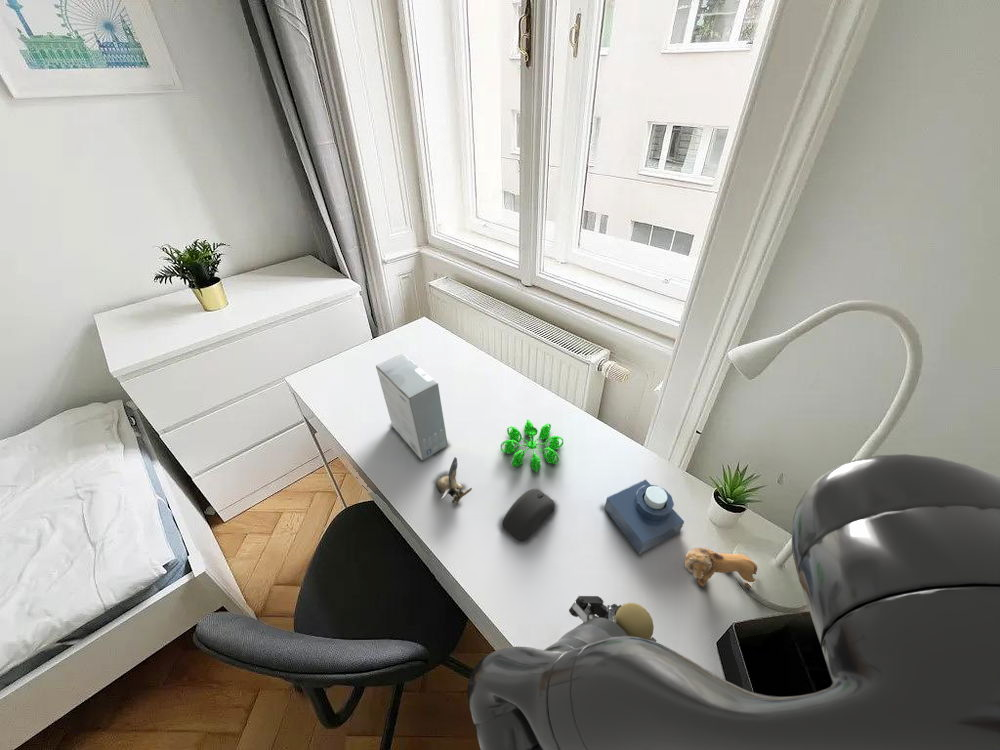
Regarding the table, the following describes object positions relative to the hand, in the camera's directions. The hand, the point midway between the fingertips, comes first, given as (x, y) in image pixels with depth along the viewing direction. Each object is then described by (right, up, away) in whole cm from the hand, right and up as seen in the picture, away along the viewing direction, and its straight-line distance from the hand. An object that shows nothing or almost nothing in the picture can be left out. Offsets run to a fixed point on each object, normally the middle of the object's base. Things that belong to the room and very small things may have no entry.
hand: (634, 627), depth 60 cm
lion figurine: (+19, 0, +13) cm, 23 cm away
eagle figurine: (-30, +12, +29) cm, 44 cm away
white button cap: (+10, +13, +20) cm, 26 cm away
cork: (-1, -5, +3) cm, 6 cm away
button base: (+9, +8, +23) cm, 25 cm away
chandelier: (-12, +19, +37) cm, 44 cm away
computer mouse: (-14, +8, +24) cm, 29 cm away
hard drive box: (-40, +22, +42) cm, 62 cm away
